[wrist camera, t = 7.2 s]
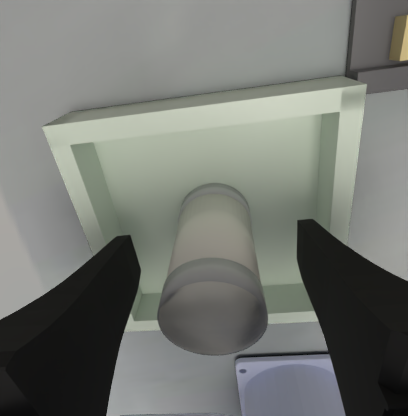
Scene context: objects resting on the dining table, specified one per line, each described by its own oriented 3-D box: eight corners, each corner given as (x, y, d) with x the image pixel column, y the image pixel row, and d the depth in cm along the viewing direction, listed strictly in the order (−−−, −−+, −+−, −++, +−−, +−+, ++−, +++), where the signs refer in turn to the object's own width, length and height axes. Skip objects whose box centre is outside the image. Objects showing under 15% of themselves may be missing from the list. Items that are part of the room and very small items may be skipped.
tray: (323, 285, 18) (337, 320, 16) (134, 298, 19) (123, 332, 17) (340, 75, 12) (367, 84, 10) (70, 111, 13) (41, 126, 11)
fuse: (250, 240, 16) (267, 354, 10) (184, 244, 16) (166, 356, 11) (249, 180, 14) (269, 277, 8) (175, 185, 14) (147, 282, 9)
